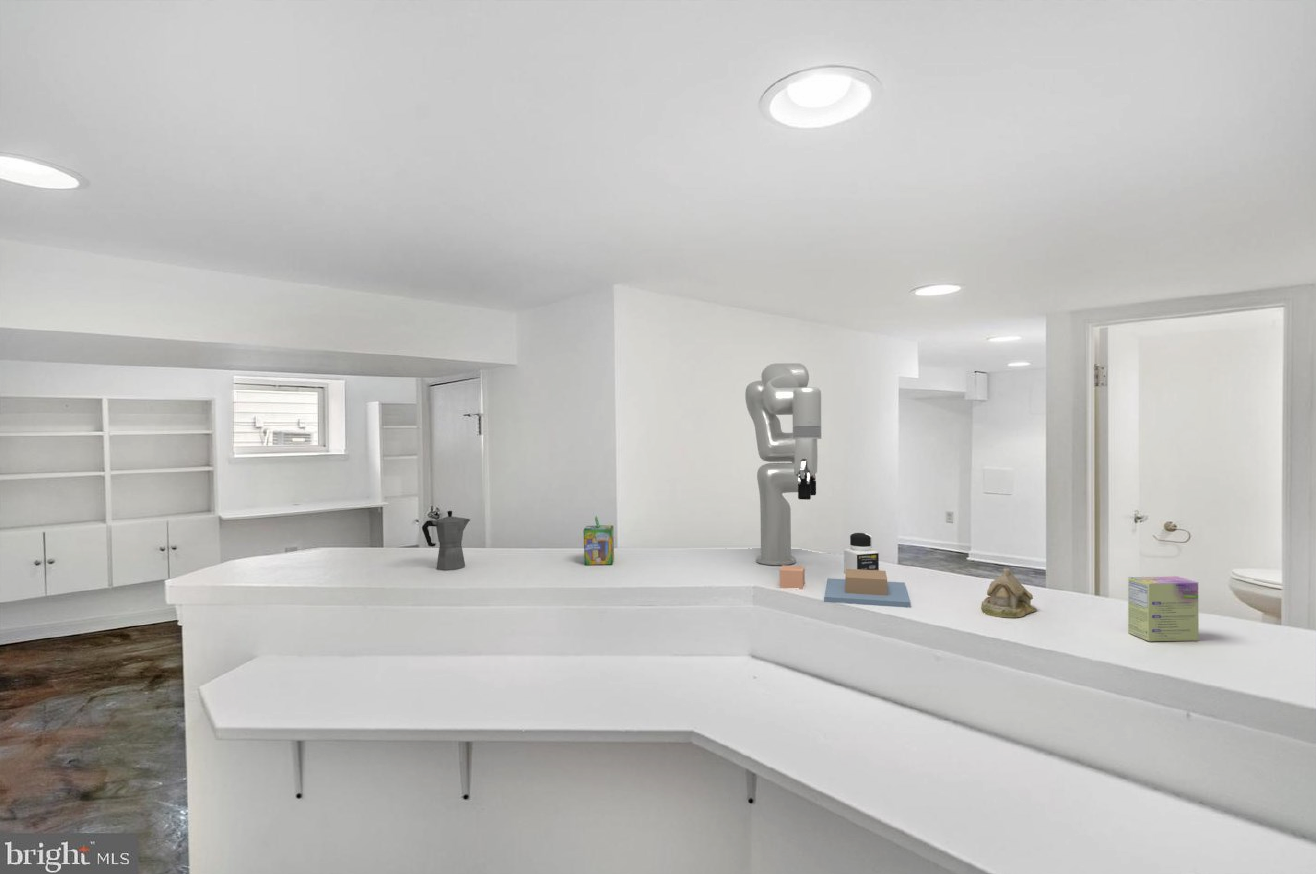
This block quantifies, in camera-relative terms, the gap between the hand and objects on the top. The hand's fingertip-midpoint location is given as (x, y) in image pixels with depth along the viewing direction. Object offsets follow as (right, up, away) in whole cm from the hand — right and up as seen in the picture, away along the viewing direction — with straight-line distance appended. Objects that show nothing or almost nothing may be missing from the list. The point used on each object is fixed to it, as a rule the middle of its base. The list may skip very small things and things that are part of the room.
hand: (807, 497), depth 174 cm
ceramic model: (+41, -25, -23) cm, 53 cm away
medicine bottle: (+19, -24, +14) cm, 34 cm away
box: (+62, -25, -43) cm, 79 cm away
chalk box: (-59, -25, +36) cm, 74 cm away
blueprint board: (+14, -24, -7) cm, 29 cm away
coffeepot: (-107, -25, +31) cm, 114 cm away
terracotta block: (-3, -25, +3) cm, 25 cm away
